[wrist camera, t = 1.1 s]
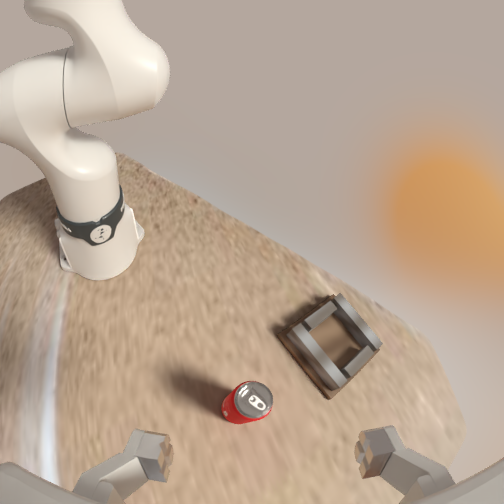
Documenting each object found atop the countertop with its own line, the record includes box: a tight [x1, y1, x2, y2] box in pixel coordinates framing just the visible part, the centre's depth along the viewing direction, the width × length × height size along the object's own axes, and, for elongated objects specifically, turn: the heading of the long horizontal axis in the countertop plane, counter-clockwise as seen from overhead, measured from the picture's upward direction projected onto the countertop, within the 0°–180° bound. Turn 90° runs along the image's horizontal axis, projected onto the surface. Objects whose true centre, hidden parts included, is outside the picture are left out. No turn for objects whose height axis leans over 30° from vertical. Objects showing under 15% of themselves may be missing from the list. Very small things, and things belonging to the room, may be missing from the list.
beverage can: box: [221, 381, 273, 424], centre depth 36 cm, size 5×5×12 cm
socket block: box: [277, 293, 383, 400], centre depth 49 cm, size 15×15×4 cm
